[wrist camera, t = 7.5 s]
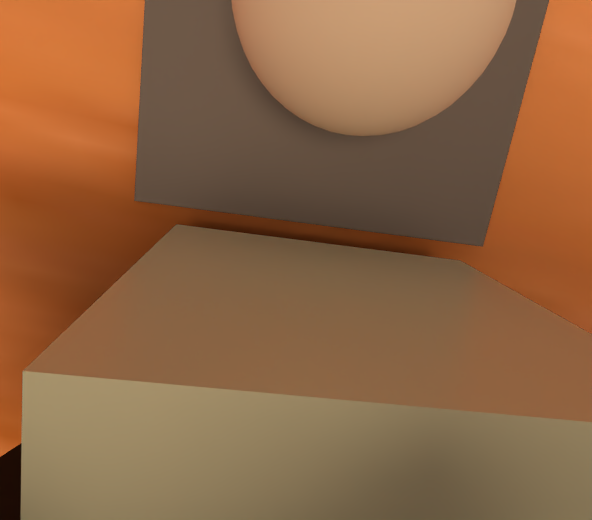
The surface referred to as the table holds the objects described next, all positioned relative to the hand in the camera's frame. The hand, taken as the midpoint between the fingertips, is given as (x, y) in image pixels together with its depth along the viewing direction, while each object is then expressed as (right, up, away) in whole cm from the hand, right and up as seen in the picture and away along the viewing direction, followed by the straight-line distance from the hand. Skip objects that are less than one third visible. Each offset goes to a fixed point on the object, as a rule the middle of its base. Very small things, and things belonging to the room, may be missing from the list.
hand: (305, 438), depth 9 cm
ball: (+1, +8, -1) cm, 8 cm away
